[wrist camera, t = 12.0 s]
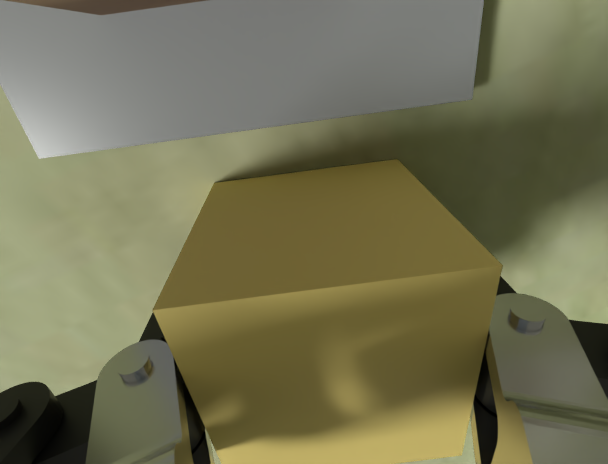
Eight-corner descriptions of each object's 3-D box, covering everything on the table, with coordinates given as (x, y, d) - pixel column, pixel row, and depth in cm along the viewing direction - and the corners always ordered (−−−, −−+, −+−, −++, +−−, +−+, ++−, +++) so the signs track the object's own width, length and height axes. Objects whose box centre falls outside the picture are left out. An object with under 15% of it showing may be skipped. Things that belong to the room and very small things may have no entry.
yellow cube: (394, 300, 12) (461, 455, 7) (249, 318, 12) (230, 484, 7) (397, 159, 9) (502, 265, 5) (214, 183, 9) (152, 309, 5)
